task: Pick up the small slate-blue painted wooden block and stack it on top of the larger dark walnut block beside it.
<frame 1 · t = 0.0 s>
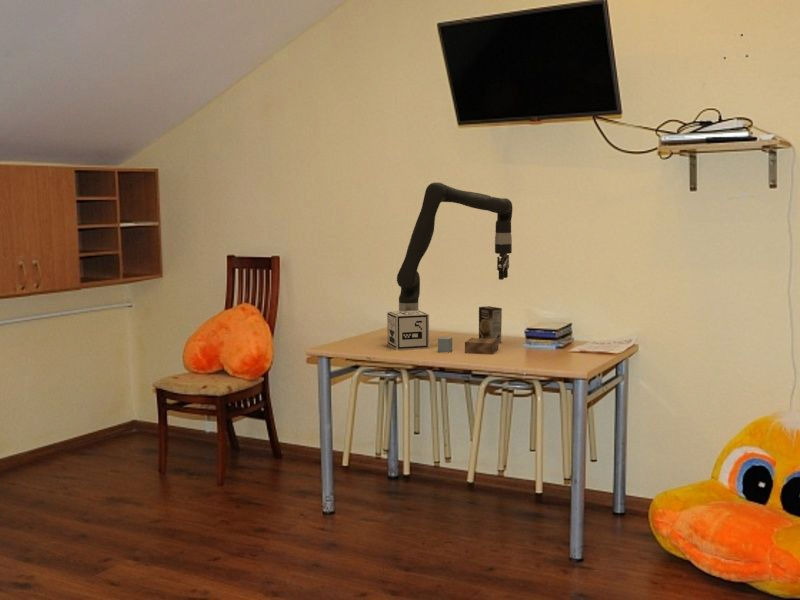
hand: (503, 278, 429), 29 cm above the table, fingers open, 8 cm apart
coffee box: (490, 342, 434), on the table
slate block: (445, 351, 410), on the table
walnut block: (481, 352, 410), on the table
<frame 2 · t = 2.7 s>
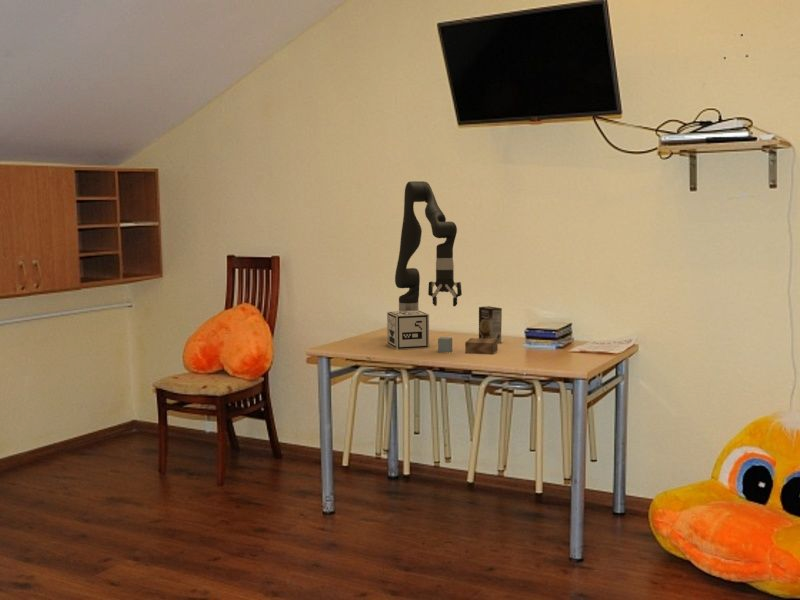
hand: (444, 305, 407), 20 cm above the table, fingers open, 8 cm apart
nothing on the table moved.
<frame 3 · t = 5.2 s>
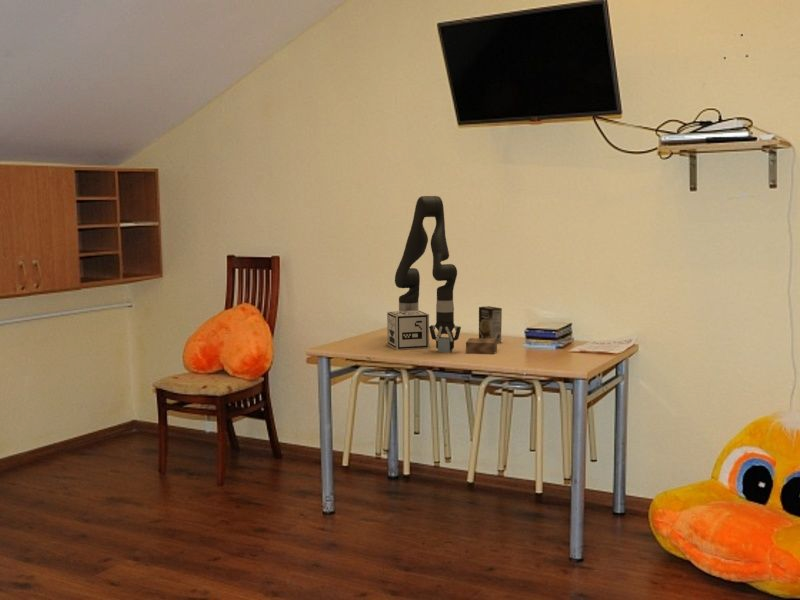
hand: (445, 349, 410), 1 cm above the table, fingers closed on slate block, 5 cm apart
slate block: (445, 351, 410), on the table, touching gripper
everything else where it was.
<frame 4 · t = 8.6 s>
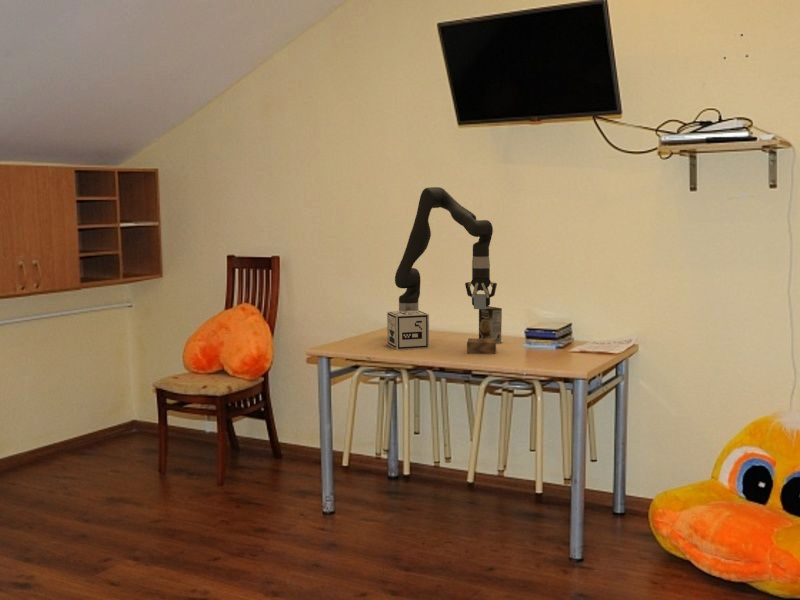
hand: (481, 306, 407), 20 cm above the table, fingers closed on slate block, 5 cm apart
slate block: (480, 308, 407), point 19 cm above the table, touching gripper
everything else where it was.
when the fingers open (7 cm above the table, at t = 11.8 s): slate block drops 2 cm, resting on walnut block.
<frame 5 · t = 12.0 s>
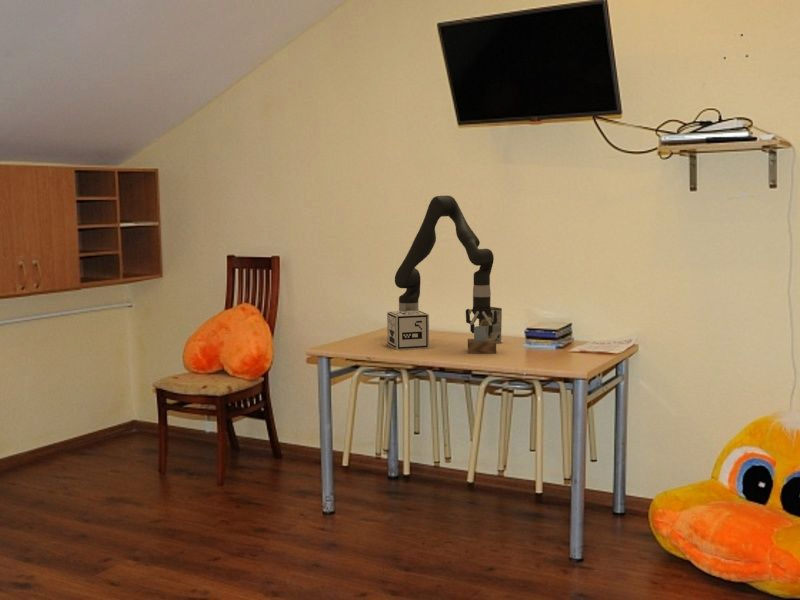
hand: (481, 333, 409), 8 cm above the table, fingers open, 7 cm apart
slate block: (481, 340, 409), point 5 cm above the table, touching walnut block
walnut block: (481, 352, 410), on the table, touching slate block
everything else where it was.
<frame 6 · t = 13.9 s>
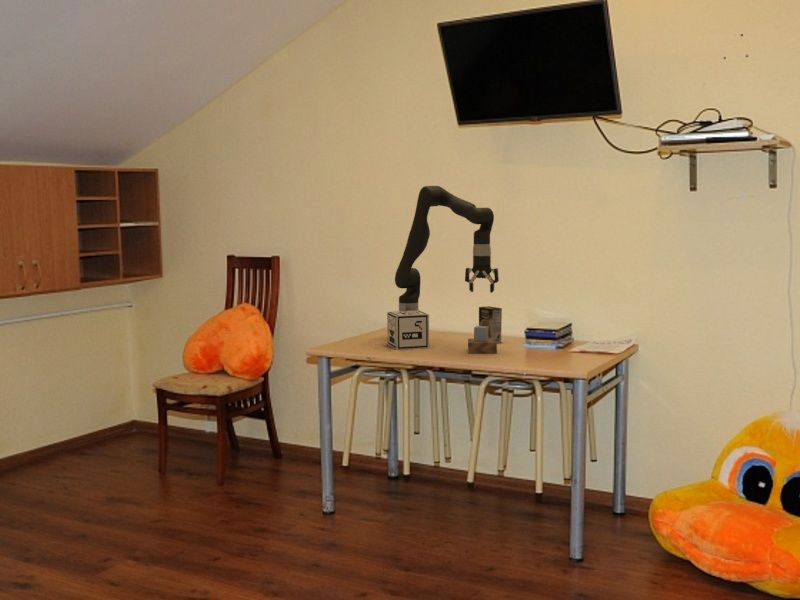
hand: (481, 292, 407), 26 cm above the table, fingers open, 8 cm apart
slate block: (481, 340, 409), point 5 cm above the table
walnut block: (482, 352, 410), on the table
everything else where it was.
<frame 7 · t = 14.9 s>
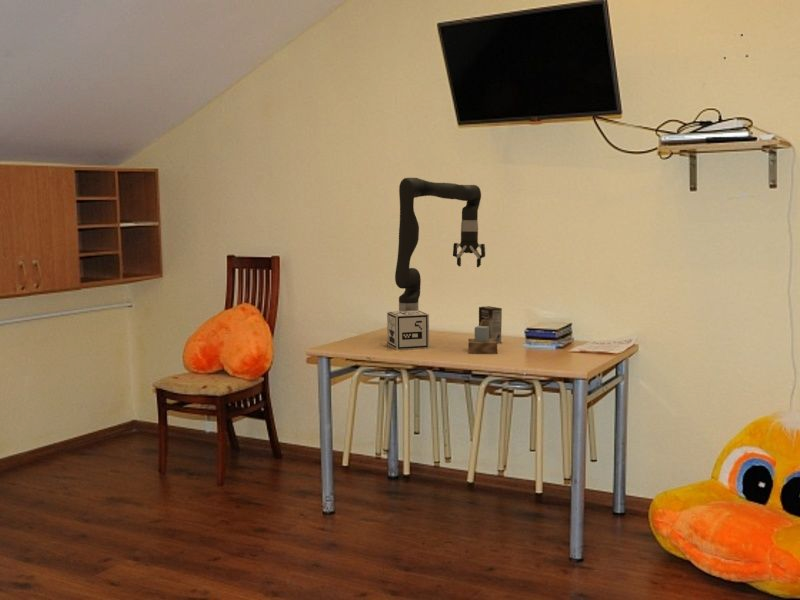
hand: (468, 266, 422), 35 cm above the table, fingers open, 8 cm apart
slate block: (481, 340, 409), point 5 cm above the table, touching walnut block
walnut block: (482, 352, 410), on the table, touching slate block
everything else where it was.
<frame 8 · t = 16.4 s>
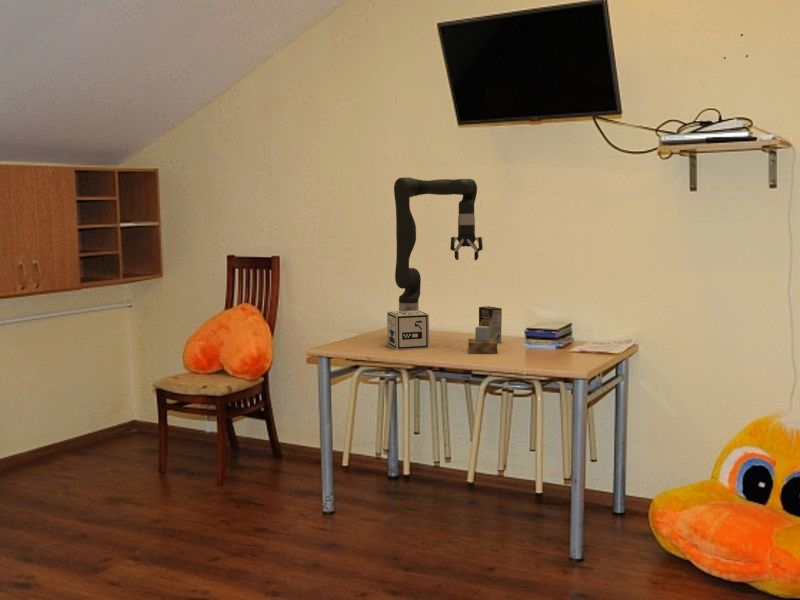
hand: (466, 260, 425), 38 cm above the table, fingers open, 8 cm apart
nothing on the table moved.
at the end: slate block 0.4 cm off-centre on the walnut block, point 5.0 cm above the walnut block's base; slate block tilted 0°; the gripper is holding nothing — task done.
